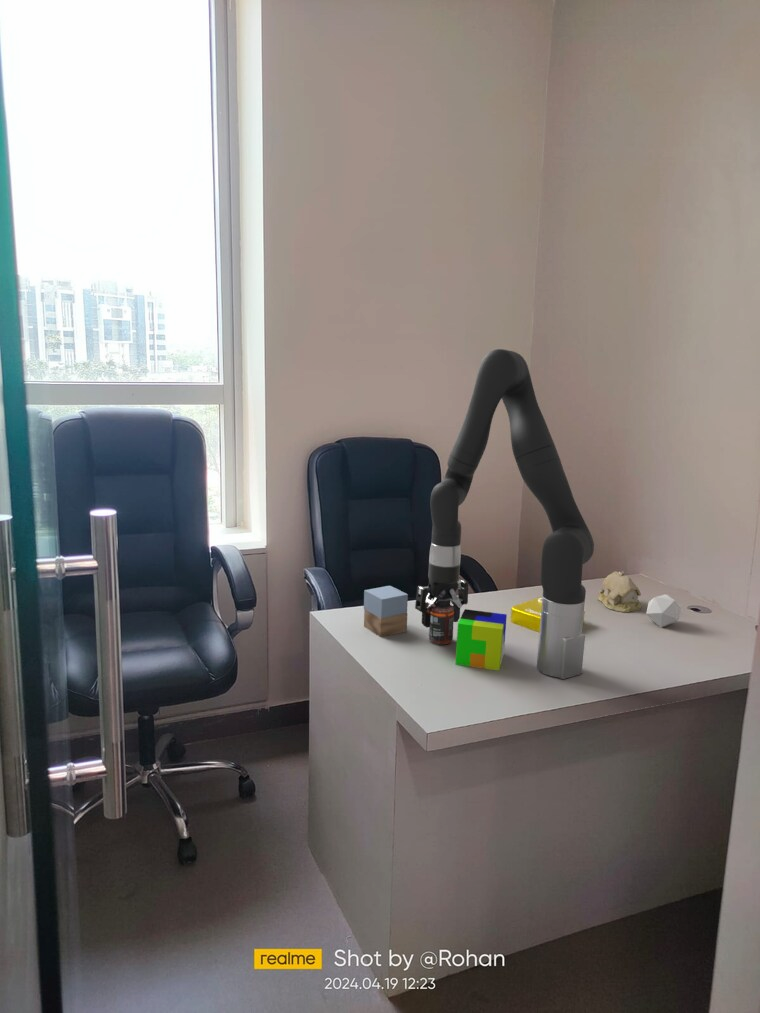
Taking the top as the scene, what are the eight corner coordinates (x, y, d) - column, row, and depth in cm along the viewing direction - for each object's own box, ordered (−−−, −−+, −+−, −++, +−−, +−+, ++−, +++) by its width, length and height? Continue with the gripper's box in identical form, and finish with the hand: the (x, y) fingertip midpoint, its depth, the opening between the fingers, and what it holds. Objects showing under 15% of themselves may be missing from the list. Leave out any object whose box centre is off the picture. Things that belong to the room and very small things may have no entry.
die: (684, 632, 192) (689, 599, 196) (663, 620, 188) (669, 586, 192) (657, 633, 199) (663, 601, 202) (637, 622, 195) (643, 589, 199)
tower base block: (406, 631, 185) (407, 613, 184) (380, 637, 181) (380, 618, 180) (389, 621, 192) (390, 603, 191) (363, 626, 188) (364, 608, 187)
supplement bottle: (452, 637, 182) (455, 594, 180) (452, 646, 177) (455, 602, 174) (428, 635, 183) (430, 592, 181) (428, 644, 177) (430, 600, 175)
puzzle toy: (503, 653, 173) (506, 614, 171) (499, 670, 164) (502, 629, 162) (462, 648, 176) (464, 609, 174) (455, 664, 167) (457, 623, 164)
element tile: (507, 622, 195) (508, 605, 194) (539, 610, 205) (540, 594, 204) (554, 639, 184) (556, 621, 183) (586, 625, 194) (588, 608, 193)
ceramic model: (649, 611, 206) (653, 577, 204) (616, 614, 203) (620, 580, 201) (619, 595, 220) (622, 563, 217) (587, 598, 216) (590, 565, 214)
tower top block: (407, 612, 185) (407, 594, 184) (381, 618, 180) (381, 599, 179) (389, 603, 191) (389, 585, 190) (363, 608, 187) (364, 590, 186)
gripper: (429, 568, 169) (425, 633, 172) (477, 561, 176) (472, 624, 180) (411, 560, 175) (408, 623, 179) (458, 553, 182) (454, 614, 186)
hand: (440, 623), depth 179 cm, fingers open, 8 cm apart
